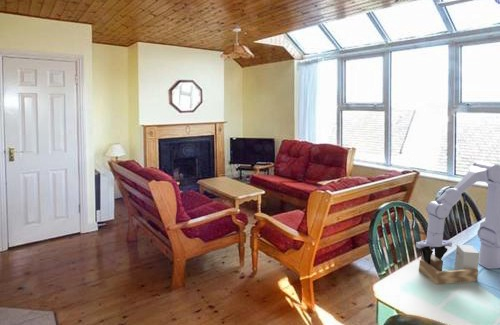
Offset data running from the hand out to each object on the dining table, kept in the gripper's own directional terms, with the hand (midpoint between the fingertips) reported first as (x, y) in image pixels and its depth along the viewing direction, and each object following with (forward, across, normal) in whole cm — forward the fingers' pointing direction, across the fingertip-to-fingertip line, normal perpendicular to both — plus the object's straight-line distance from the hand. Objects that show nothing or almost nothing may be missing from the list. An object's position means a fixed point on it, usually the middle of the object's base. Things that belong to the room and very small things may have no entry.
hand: (431, 263), depth 149 cm
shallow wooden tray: (+2, -2, +6) cm, 7 cm away
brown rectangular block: (+2, 0, 0) cm, 2 cm away
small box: (+3, -11, +5) cm, 12 cm away
